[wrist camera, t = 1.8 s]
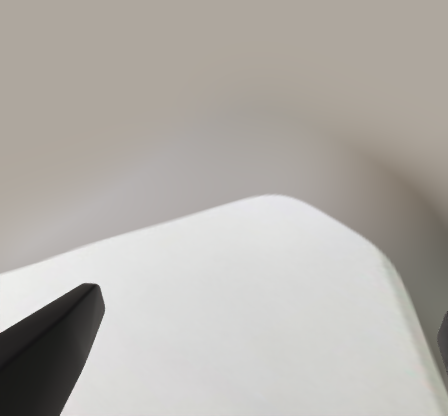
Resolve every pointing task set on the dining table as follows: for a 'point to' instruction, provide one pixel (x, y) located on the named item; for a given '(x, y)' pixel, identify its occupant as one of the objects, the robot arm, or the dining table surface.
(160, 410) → the dining table surface
